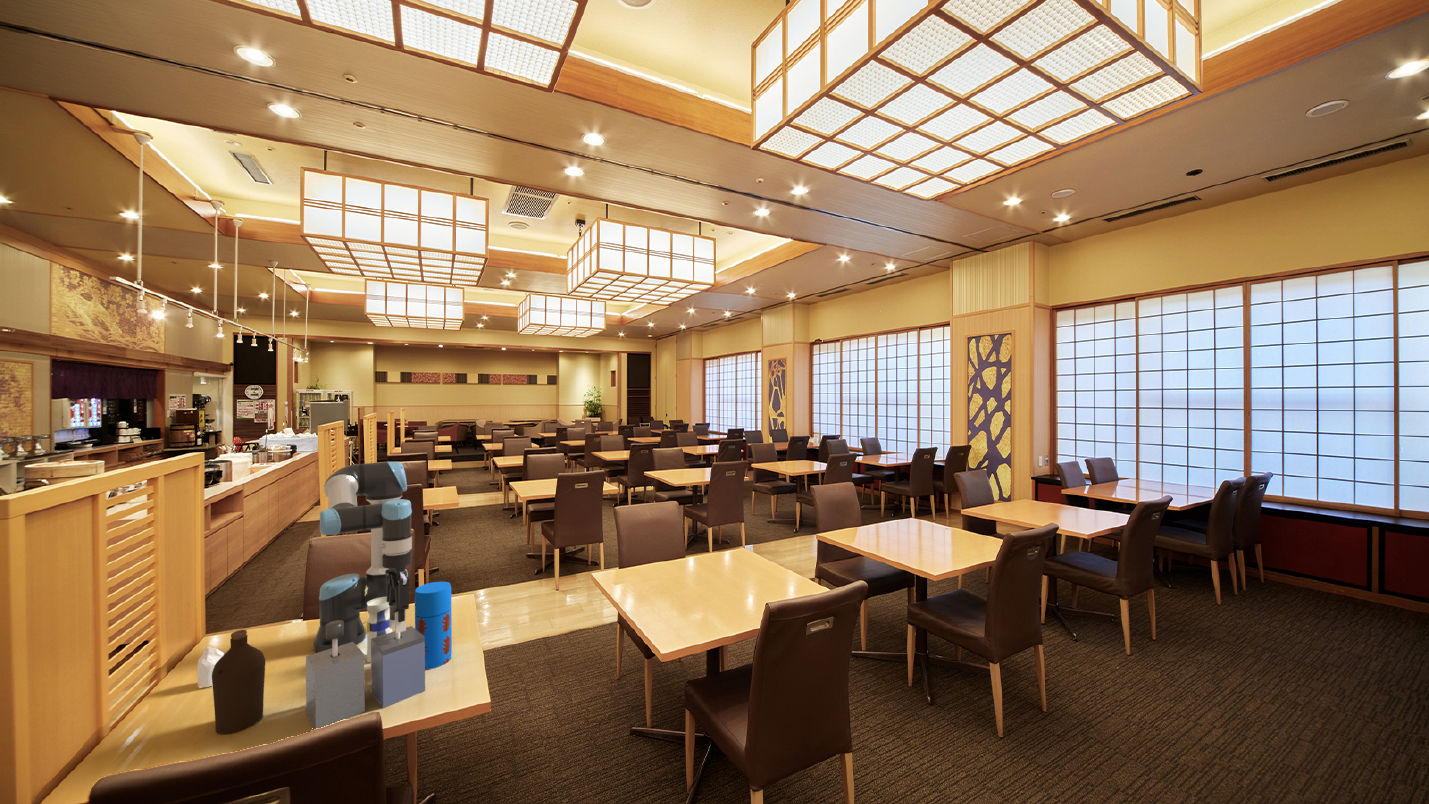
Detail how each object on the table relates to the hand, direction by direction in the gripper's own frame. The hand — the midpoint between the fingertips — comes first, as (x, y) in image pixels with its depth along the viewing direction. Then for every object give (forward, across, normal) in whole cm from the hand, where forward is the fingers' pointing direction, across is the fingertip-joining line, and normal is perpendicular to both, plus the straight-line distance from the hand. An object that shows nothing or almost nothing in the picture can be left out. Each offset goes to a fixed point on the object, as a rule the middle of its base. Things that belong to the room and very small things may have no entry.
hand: (397, 629), depth 150 cm
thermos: (+19, -11, +14) cm, 26 cm away
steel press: (+19, -4, -15) cm, 25 cm away
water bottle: (+19, -28, +3) cm, 34 cm away
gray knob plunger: (+13, 0, 0) cm, 13 cm away
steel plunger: (+14, -2, -15) cm, 20 cm away
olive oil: (+19, -17, -33) cm, 42 cm away
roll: (+19, -50, -36) cm, 65 cm away
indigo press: (+19, -2, 0) cm, 19 cm away
